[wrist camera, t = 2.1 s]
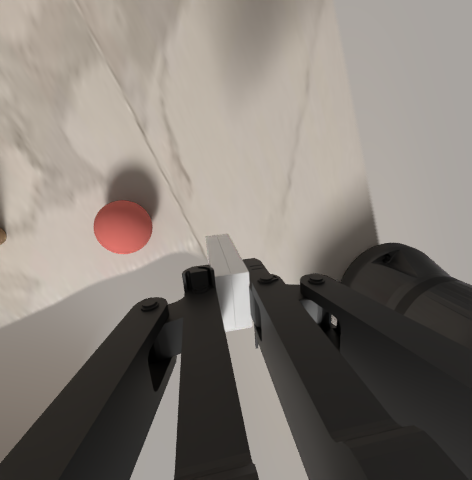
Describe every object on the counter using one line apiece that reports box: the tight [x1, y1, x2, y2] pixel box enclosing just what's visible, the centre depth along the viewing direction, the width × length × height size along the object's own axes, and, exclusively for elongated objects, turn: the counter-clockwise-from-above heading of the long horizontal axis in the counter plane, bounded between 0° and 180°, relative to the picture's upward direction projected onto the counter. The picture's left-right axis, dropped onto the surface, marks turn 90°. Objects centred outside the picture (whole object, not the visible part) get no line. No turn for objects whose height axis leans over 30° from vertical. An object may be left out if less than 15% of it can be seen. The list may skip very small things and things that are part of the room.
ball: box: [94, 200, 152, 254], centre depth 28 cm, size 6×6×6 cm
